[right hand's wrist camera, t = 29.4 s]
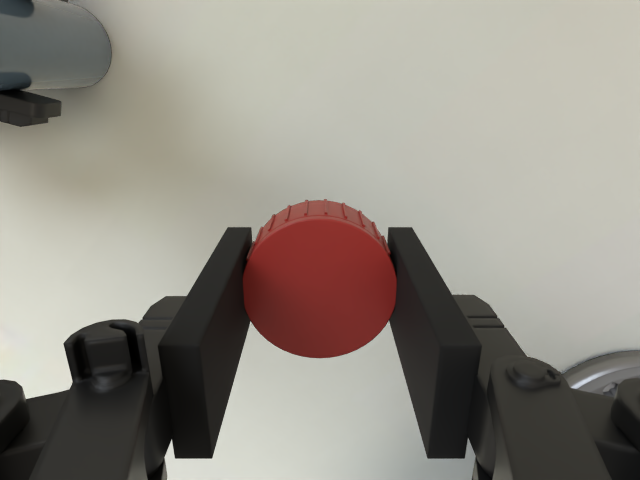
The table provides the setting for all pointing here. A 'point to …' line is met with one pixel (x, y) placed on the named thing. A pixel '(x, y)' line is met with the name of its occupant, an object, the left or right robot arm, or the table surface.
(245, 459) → the table surface
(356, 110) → the table surface
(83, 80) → the bottle
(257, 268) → the cap
